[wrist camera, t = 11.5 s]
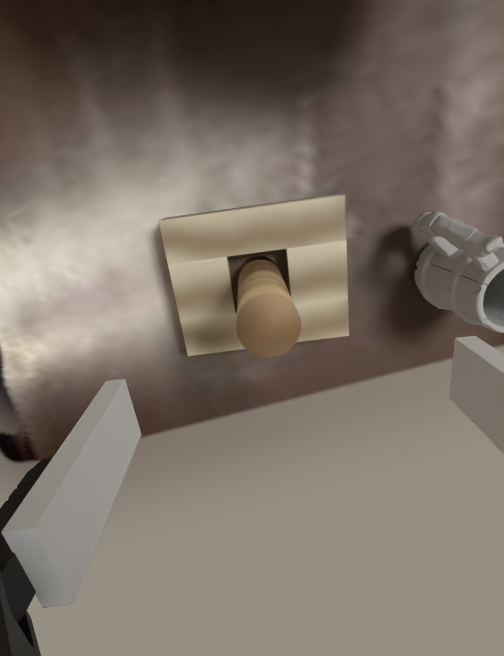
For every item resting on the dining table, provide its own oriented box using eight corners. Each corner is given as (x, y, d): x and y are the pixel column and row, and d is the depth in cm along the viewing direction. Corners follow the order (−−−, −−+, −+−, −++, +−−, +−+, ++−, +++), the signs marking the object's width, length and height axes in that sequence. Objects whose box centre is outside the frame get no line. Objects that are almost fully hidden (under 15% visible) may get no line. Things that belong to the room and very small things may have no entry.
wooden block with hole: (166, 217, 34) (158, 220, 30) (334, 194, 33) (344, 195, 30) (192, 342, 38) (187, 356, 35) (339, 322, 38) (349, 335, 35)
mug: (439, 318, 38) (521, 372, 27) (370, 241, 35) (430, 266, 24) (500, 267, 36) (616, 302, 25) (433, 180, 33) (531, 176, 22)
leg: (235, 258, 34) (230, 299, 21) (277, 252, 34) (299, 291, 21) (241, 298, 36) (240, 361, 22) (281, 293, 35) (304, 353, 22)
